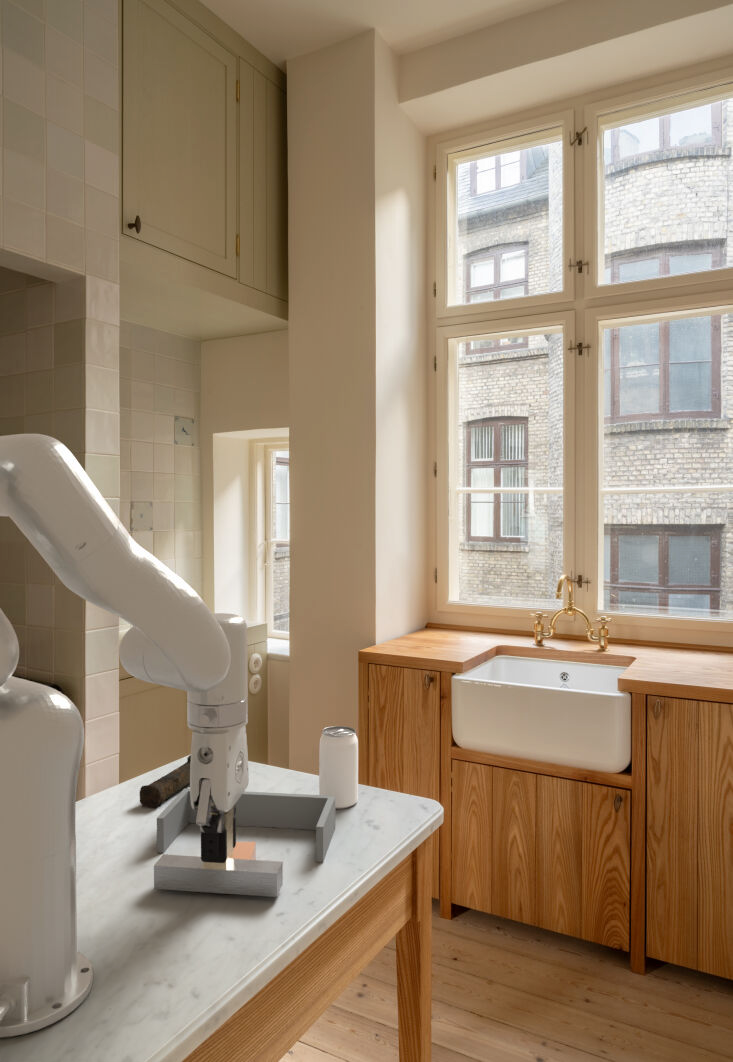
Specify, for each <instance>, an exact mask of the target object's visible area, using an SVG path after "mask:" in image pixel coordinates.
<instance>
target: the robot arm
mask: <svg viewBox="0 0 733 1062" xmlns="http://www.w3.org/2000/svg"><path fill="white" fill-rule="evenodd" d="M0 517H9V519H11V520H12V522H14V524H15V525H16V526H17V528H18V529H19V530H20V532H21V533H22V534H23V535H24V536H25V538H26V539H28V541H29V542H30V544H31V545H32V546H33V547H34V549H35V550H36V551H37V552H38V554H40V556H41V557H42V559H43V560H44V561H45V562H46V563H47V565H48V566H49V567H50V568H51V570H52V571H53V572H54V574H55V575H56V576H57V578H58V580H60V582H61V583H62V584H63V585H64V586H65V587H66V588H67V589H69V590H70V591H71V592H73V593H74V594H76V595H77V596H79V597H80V598H81V599H83V600H85V601H87V602H88V603H90V604H92V605H93V606H97V607H98V608H100V609H103V610H105V611H106V612H109V613H110V614H113V615H114V616H117V617H119V618H120V619H122V620H123V621H125V622H126V623H128V624H130V625H131V626H132V627H130V628H129V629H128V630H127V631H126V632H125V634H124V635H123V636H122V638H121V640H120V643H119V647H118V656H119V657H118V658H119V661H120V664H121V666H122V667H123V669H124V670H125V671H126V672H127V674H129V675H131V676H132V677H134V678H135V679H138V680H140V681H142V682H143V681H144V682H145V683H146V682H147V683H150V684H155V685H158V686H165V687H169V688H173V689H177V690H180V691H185V692H186V694H187V695H186V696H187V697H186V698H187V700H186V701H187V703H186V705H187V707H186V708H187V711H186V712H187V714H186V715H187V716H186V717H187V721H186V722H187V727H188V728H189V729H191V730H192V735H191V746H190V755H191V763H190V783H189V789H190V801H191V807H192V808H193V809H194V810H198V812H197V819H196V823H195V824H196V825H197V826H199V831H200V857H201V860H202V861H203V862H212V863H225V862H226V860H227V830H224V812H228V811H229V810H230V809H231V808H232V807H233V816H235V814H236V802H237V801H238V800H239V798H240V797H241V795H242V794H243V792H244V791H245V792H246V790H247V788H248V785H249V757H248V756H249V755H248V741H247V740H248V739H247V738H248V737H247V728H246V726H247V724H248V722H249V718H248V717H249V715H248V713H249V704H248V703H249V701H248V700H249V695H248V693H249V692H248V691H249V690H248V675H249V674H248V625H247V623H246V620H245V618H243V617H242V615H241V616H240V615H239V614H235V613H225V612H224V613H223V612H222V613H221V612H217V613H213V612H212V611H211V610H210V608H209V606H208V605H207V604H206V603H205V601H204V600H203V599H202V597H200V595H199V594H198V593H197V592H196V591H195V590H194V588H192V587H191V586H190V585H189V584H188V583H186V582H185V581H184V580H183V579H182V578H181V577H180V576H178V575H177V574H176V573H174V572H173V570H171V569H170V568H169V567H168V566H166V564H164V563H163V562H161V561H160V560H159V559H158V558H157V557H156V556H154V554H152V553H151V552H149V551H148V550H147V549H146V548H144V547H142V546H141V545H140V544H139V543H138V542H137V541H135V539H134V538H133V537H132V536H131V535H130V533H129V531H128V530H127V529H126V527H125V526H124V525H123V522H122V521H121V520H120V519H119V518H118V516H117V515H116V513H115V512H114V511H113V509H112V508H111V506H110V504H108V502H107V501H106V500H105V497H104V496H103V495H102V493H101V492H100V490H99V489H98V487H97V486H96V485H95V483H94V482H93V481H92V479H91V478H90V477H89V475H88V473H87V472H86V471H85V469H84V468H83V467H82V464H81V463H79V461H78V459H77V458H76V457H75V455H74V454H73V453H72V452H71V450H70V449H69V448H68V447H67V446H66V445H65V444H64V443H63V442H61V441H60V440H58V439H56V438H55V437H53V436H50V435H47V434H46V435H45V434H41V433H19V434H18V433H16V434H8V435H0ZM19 644H20V643H19V640H18V637H17V634H16V631H15V629H14V627H13V625H12V623H11V621H10V619H8V617H7V615H6V614H5V613H4V611H3V610H2V608H1V607H0V1038H11V1037H16V1036H21V1035H26V1034H29V1033H33V1032H35V1031H36V1032H37V1031H39V1030H41V1029H44V1028H46V1027H49V1026H50V1025H52V1024H54V1023H56V1022H58V1021H60V1020H62V1019H63V1018H65V1017H66V1016H68V1015H69V1014H71V1013H72V1012H73V1011H75V1009H77V1008H78V1007H79V1006H80V1005H81V1004H82V1003H83V1002H84V1001H85V999H86V998H87V996H88V995H89V993H90V992H91V989H92V987H93V982H94V969H93V968H94V967H93V965H92V962H91V961H90V959H89V958H88V957H87V956H86V955H85V954H83V953H82V952H80V951H78V941H77V940H78V938H77V937H78V935H77V934H78V933H77V932H78V930H77V929H78V928H77V925H78V924H77V922H78V921H77V911H78V910H77V836H76V805H77V804H76V802H77V787H78V778H79V771H80V765H81V760H82V756H83V751H84V750H83V749H84V744H85V727H84V726H85V725H84V721H83V718H82V716H81V713H80V711H79V709H78V707H77V706H76V704H75V703H74V702H73V701H72V700H71V699H70V698H69V697H68V696H67V695H65V694H63V693H62V692H61V691H59V690H57V689H56V688H53V687H51V686H49V685H46V684H42V683H38V682H35V681H30V680H28V679H24V678H19V677H16V676H13V674H14V672H15V671H16V669H17V666H18V664H19V659H20V645H19ZM211 803H213V805H211ZM210 813H218V817H217V818H216V817H215V816H211V814H210ZM236 828H237V826H236V817H233V849H234V847H235V846H236V842H237V837H236V836H237V831H236V830H237V829H236Z"/></svg>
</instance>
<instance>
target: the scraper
mask: <svg viewBox="0 0 733 1062" xmlns="http://www.w3.org/2000/svg"><path fill="white" fill-rule="evenodd" d="M211 805H213V804H211ZM210 814H211V816H215V817H216V818H217V817H218V813H210ZM224 830H227V860H226V862H225V863H212V862H203V861H202V860H201V856H197V855H196V856H195V855H194V856H193V855H179V854H164V853H162V855H161V857H160V858H159V859H158V860H157V861H156V862H155V863H154V865H153V889H154V890H167V891H168V890H170V891H182V892H183V891H184V892H185V891H186V892H198V893H210V894H211V893H213V894H226V895H227V894H228V895H243V896H255V897H257V896H259V897H271V898H272V897H273V898H274V897H275V898H278V897H279V894H280V892H281V889H282V887H283V883H284V882H283V879H284V876H283V872H284V870H283V869H284V867H283V864H284V863H283V861H279V860H276V861H275V860H259V859H256V860H246V859H233V807H232V808H231V809H230V810H229V811H228V812H224Z"/></svg>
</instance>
